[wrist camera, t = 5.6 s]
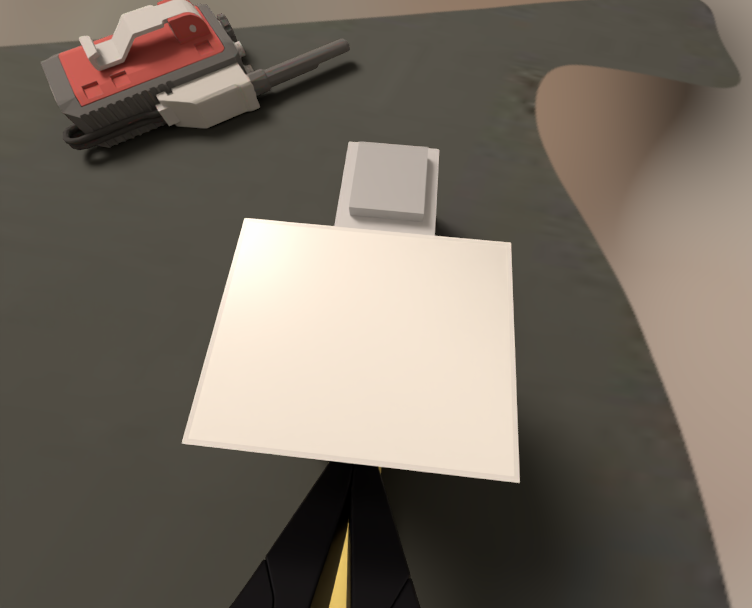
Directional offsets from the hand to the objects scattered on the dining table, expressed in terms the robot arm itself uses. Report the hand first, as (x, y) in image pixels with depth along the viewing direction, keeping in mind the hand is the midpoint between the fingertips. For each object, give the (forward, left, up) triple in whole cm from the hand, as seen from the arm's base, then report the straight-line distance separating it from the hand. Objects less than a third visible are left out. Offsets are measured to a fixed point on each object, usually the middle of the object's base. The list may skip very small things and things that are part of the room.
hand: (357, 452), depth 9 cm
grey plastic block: (+3, -10, -7) cm, 12 cm away
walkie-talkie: (+21, -17, -7) cm, 28 cm away
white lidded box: (+1, -3, -7) cm, 7 cm away
